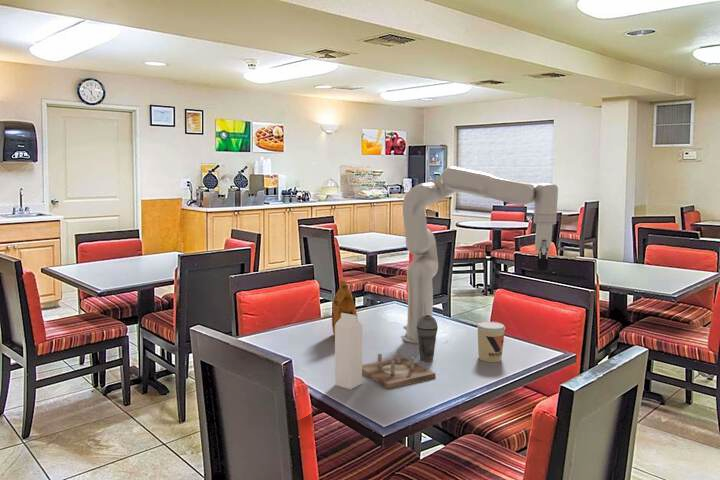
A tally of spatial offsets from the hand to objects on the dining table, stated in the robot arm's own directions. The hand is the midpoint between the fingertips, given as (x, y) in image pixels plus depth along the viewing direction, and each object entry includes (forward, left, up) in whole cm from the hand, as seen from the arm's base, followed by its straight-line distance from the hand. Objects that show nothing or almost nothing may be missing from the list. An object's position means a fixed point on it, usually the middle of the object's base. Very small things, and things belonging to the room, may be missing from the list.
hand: (542, 267), depth 201 cm
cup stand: (-8, -57, -31) cm, 65 cm away
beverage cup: (-14, -40, -31) cm, 52 cm away
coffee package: (-50, -52, -31) cm, 78 cm away
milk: (-8, -74, -31) cm, 81 cm away
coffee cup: (-4, -20, -31) cm, 37 cm away
